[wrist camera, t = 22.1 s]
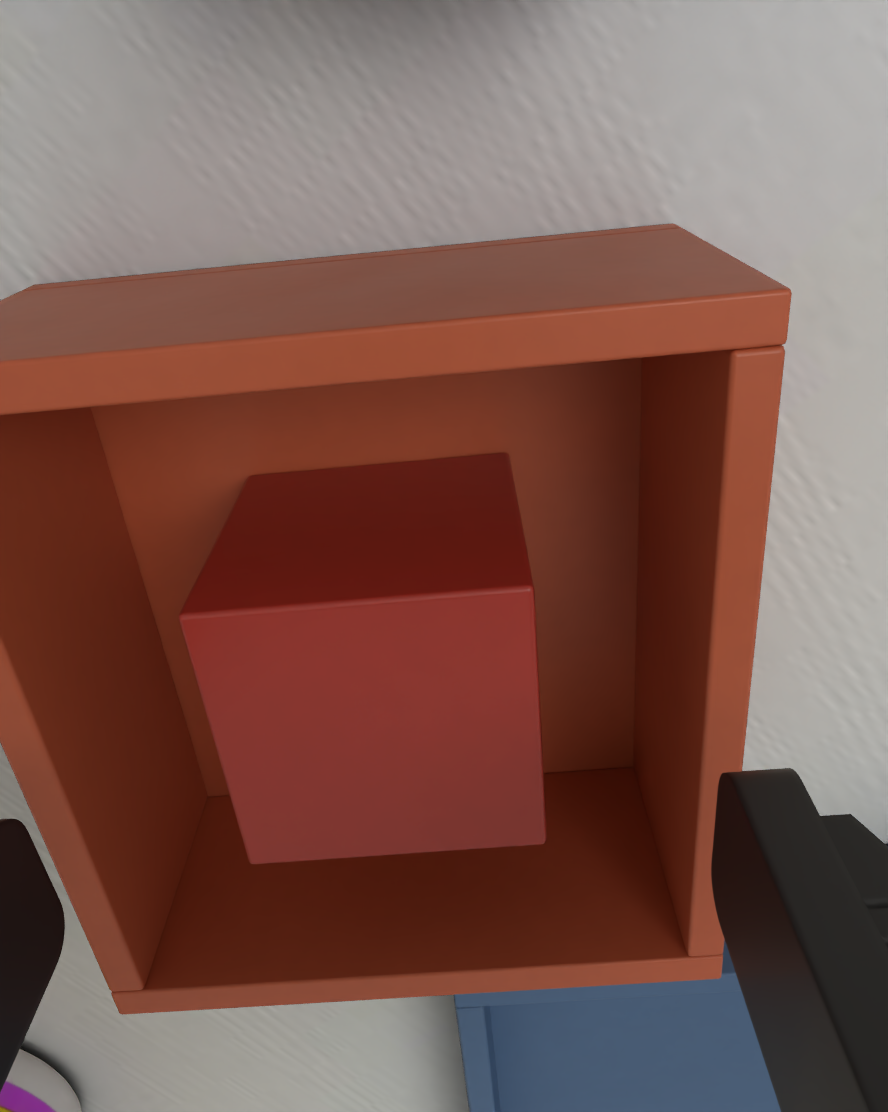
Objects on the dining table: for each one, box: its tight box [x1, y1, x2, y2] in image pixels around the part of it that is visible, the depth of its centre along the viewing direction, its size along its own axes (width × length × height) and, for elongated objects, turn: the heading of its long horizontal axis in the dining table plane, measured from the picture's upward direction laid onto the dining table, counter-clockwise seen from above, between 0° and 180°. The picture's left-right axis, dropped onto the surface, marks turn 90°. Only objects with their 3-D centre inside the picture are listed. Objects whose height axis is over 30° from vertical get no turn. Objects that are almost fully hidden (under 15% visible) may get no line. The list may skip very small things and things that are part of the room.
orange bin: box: [0, 224, 791, 1014], centre depth 14 cm, size 11×10×5 cm
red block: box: [179, 453, 547, 864], centre depth 14 cm, size 4×4×4 cm
